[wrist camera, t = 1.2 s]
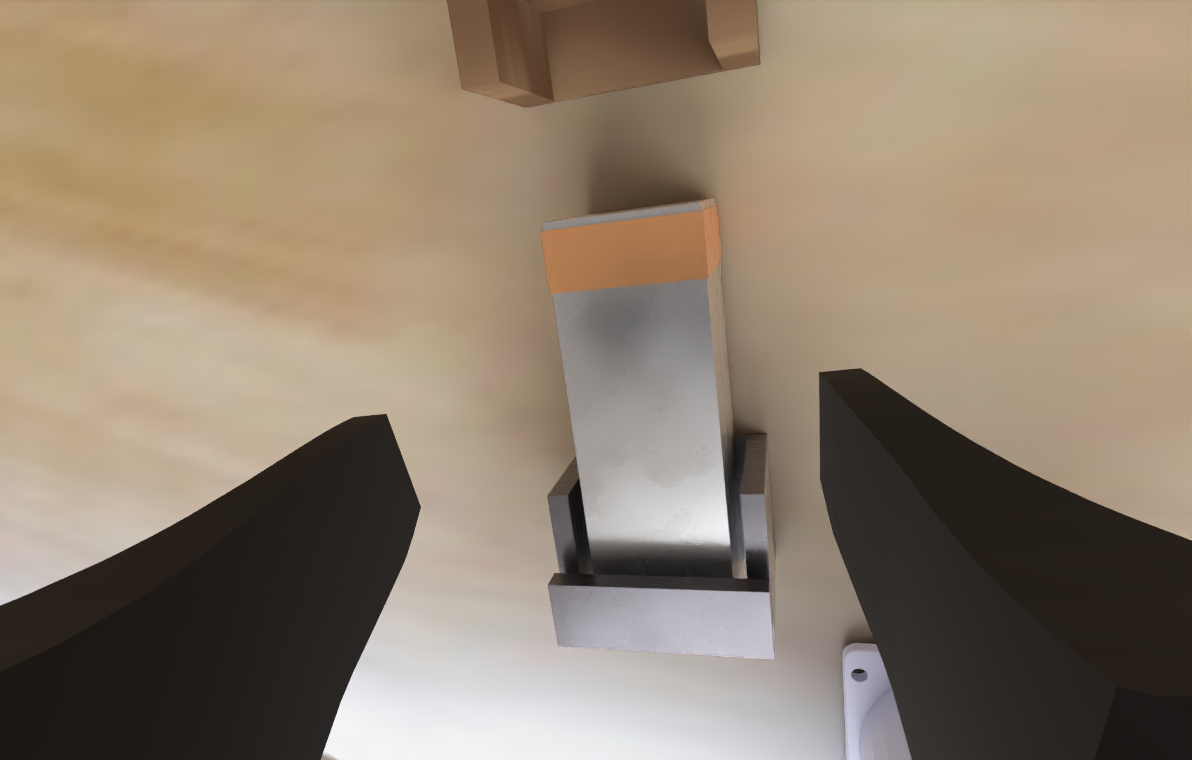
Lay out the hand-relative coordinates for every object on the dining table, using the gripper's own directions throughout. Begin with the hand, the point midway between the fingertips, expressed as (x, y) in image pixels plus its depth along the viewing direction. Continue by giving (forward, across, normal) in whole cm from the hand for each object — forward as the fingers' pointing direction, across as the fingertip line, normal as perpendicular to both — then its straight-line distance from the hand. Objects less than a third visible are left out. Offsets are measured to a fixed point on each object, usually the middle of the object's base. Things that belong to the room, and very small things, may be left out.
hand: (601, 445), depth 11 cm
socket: (+12, -1, -6) cm, 14 cm away
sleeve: (+9, -1, +8) cm, 12 cm away
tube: (+10, -1, +5) cm, 11 cm away
